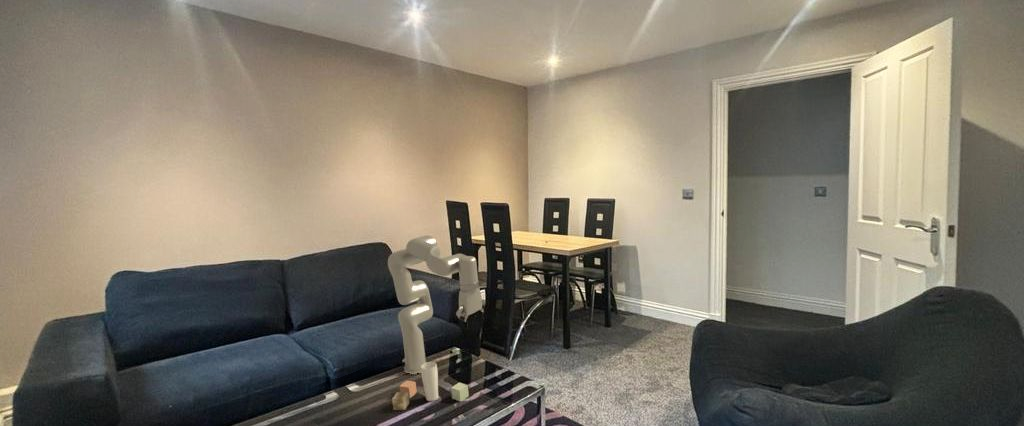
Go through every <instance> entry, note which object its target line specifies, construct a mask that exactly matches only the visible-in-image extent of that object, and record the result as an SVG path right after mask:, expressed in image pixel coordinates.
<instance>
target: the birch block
mask: <svg viewBox="0 0 1024 426" xmlns="http://www.w3.org/2000/svg"><path fill="white" fill-rule="evenodd" d="M391 401H392V406H393V407H392V409H393V411H405V410H407V407H408V406H409V404H410V398H409V396H408V392H400V391H399V392H398V391H397V392H396V393H395V394H394V396H393V397H392V398H391Z"/></svg>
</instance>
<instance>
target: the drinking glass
mask: <svg viewBox="0 0 1024 426" xmlns="http://www.w3.org/2000/svg"><path fill="white" fill-rule="evenodd" d="M427 362H428V361H427ZM438 372H439V371H438V364H437V363H436V362H434V361H429V362H428V363H425V364H423V365H422V366H421V373H420V374H421V379H422V383H423V384H422V385H423V389H424V395H425V399H426V401H428V402H434V401H436V400H438V399H439V373H438Z"/></svg>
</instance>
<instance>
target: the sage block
mask: <svg viewBox="0 0 1024 426" xmlns="http://www.w3.org/2000/svg"><path fill="white" fill-rule="evenodd" d="M450 391H451V392H450V393H451V398H452V400H456V401H457V402H462V401H464V400H465V399H467V398H468V397H469V396H470V395H469V385H467V384H466V383H462V382H458V383H456V384H454V385H453V386H452V387H450Z"/></svg>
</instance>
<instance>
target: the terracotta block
mask: <svg viewBox="0 0 1024 426" xmlns="http://www.w3.org/2000/svg"><path fill="white" fill-rule="evenodd" d="M417 390H418V389H417V383H416V381H411V380H405V381H404V382H402V383H401V384H400V385H399V392H408V396H409V399H412V397H413V396H415V395H416V394H417V392H418V391H417Z"/></svg>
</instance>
